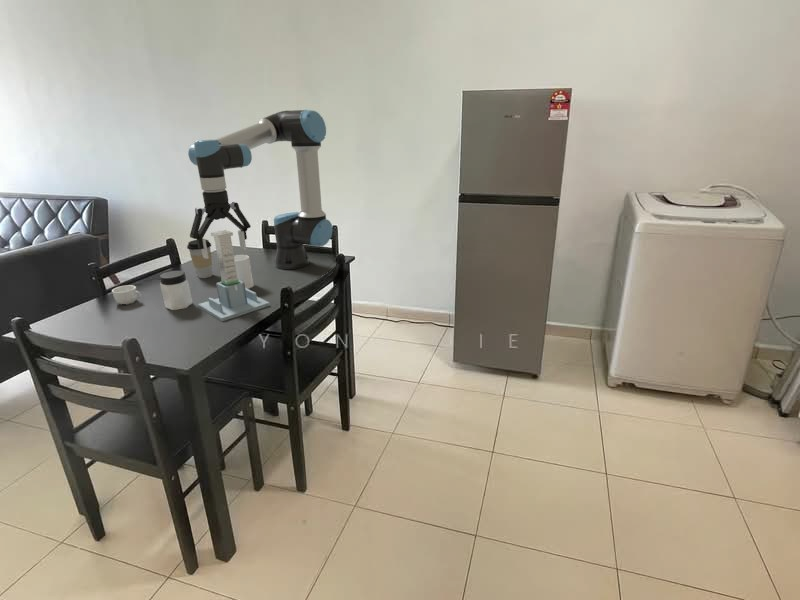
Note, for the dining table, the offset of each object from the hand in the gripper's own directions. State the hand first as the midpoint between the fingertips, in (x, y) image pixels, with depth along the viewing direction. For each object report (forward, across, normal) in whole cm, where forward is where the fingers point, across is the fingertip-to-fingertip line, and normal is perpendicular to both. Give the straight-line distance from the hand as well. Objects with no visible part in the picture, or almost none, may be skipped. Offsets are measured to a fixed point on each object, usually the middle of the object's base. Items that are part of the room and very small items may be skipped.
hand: (225, 253), depth 155 cm
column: (+12, 0, 0) cm, 12 cm away
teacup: (+20, +24, -33) cm, 45 cm away
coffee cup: (+20, -8, -41) cm, 46 cm away
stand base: (+20, 0, 0) cm, 20 cm away
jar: (+20, +13, -16) cm, 29 cm away
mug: (+20, -11, -16) cm, 28 cm away
